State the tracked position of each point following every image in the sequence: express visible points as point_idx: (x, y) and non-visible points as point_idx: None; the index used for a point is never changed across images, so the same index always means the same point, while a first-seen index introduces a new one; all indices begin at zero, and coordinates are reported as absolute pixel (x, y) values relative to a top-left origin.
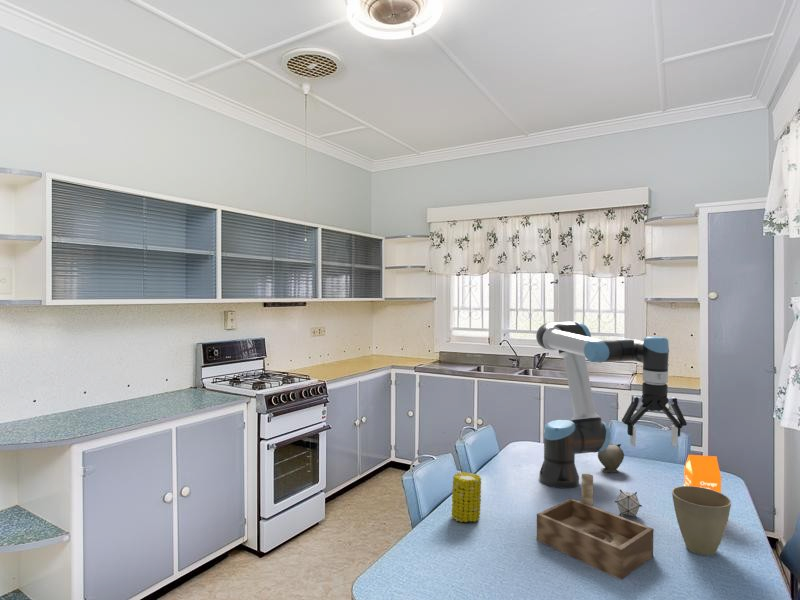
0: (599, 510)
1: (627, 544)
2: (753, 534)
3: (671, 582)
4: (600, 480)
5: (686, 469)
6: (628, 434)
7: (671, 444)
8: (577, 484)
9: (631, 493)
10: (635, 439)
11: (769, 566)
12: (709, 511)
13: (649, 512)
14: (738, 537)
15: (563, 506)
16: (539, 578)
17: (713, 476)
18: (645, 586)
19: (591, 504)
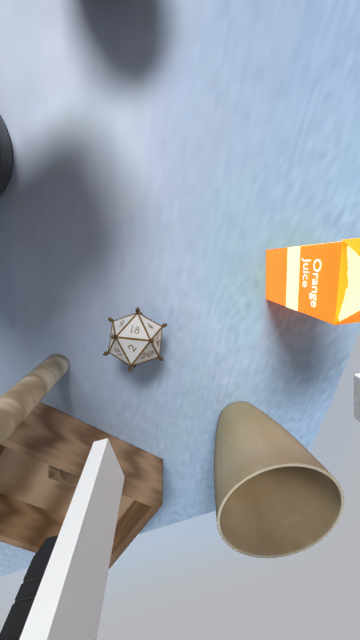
0: (64, 470)
1: (113, 560)
2: (348, 339)
3: (174, 506)
4: (75, 94)
5: (337, 265)
6: (50, 545)
7: (355, 380)
8: (8, 173)
9: (141, 341)
10: (115, 526)
11: (314, 433)
12: (271, 543)
13: (185, 301)
14: (316, 359)
15: None
16: (16, 548)
17: None
18: None
19: (51, 388)
